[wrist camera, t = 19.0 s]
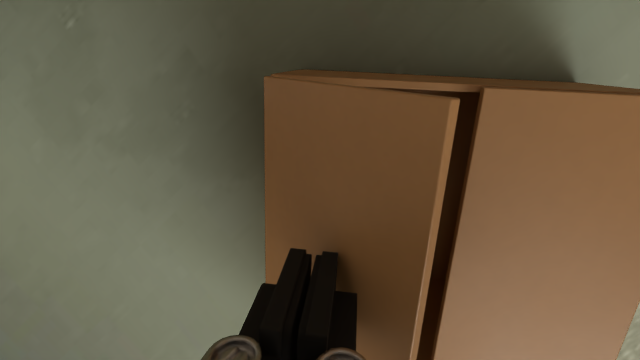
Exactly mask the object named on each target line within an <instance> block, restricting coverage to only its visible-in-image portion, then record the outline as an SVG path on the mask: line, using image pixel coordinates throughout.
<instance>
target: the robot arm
mask: <svg viewBox="0 0 640 360" xmlns="http://www.w3.org/2000/svg"><path fill="white" fill-rule="evenodd" d="M337 264H338V253H337V252H327V251H323V252H322V255H316V258H315V262H314V266H313V270H312V274H311V265H312V254H306V249H297V248H290V250H289V253H288V255H287V258H286V260H285V263H284V266H283V268H282V271H281V273H280V276H279V279H278V281H277V284H268V283H263V284H262V285H261V287H260V289H259V291H258V293H257V296H256V298H255V300H254V302H253V304H252V307H251V309H250V311H249V313H248V315H247V318H246V320H245V322H244V324H243V326H242V329H241V331H240V333H239V335H233V336H228V337H225V338H222V339H220V340H219V341H217V342H215V343H214V344H213V345H212V346H211V347H210V348H209V349H208V351H207V352H206V353H205V355H204V356H203V357H202V359H201V360H366V359H365V358H364V356H362V355H361V354H359V353H358V352H357V351H356V334H357V293H351V292H342V291H336V278H337Z"/></svg>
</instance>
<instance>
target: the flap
mask: <svg viewBox="0 0 640 360" xmlns="http://www.w3.org/2000/svg"><path fill="white" fill-rule="evenodd" d="M459 103H460V99H459V98H454V97H446V96H437V95H429V94H420V93H412V92H403V91H394V90H386V89H377V88H369V87H360V86H352V85H343V84H334V83H326V82H317V81H309V80H300V79H291V78H283V77H274V76H265V77H264V135H265V261H266V283H268V284H277V281H278V279H279V276H280V273H281V271H282V268H283V266H284V263H285V260H286V258H287V255H288V253H289V250H290V248H297V249H306V254H312V265H311V274H312V270H313V266H314V262H315V258H316V255H322V252H323V251H327V252H337V253H338V264H337V278H336V291H342V292H351V293H357V334H356V351H357V352H358V353H359V354H361V355H362V356H364V358H365V359H366V360H416V359H417V353H418V347H419V341H420V335H421V329H422V323H423V317H424V311H425V305H426V299H427V294H428V288H429V282H430V276H431V270H432V264H433V258H434V252H435V246H436V240H437V234H438V228H439V222H440V216H441V210H442V204H443V198H444V192H445V186H446V181H447V175H448V169H449V163H450V157H451V151H452V145H453V139H454V133H455V127H456V121H457V115H458V109H459Z"/></svg>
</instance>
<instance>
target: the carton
mask: <svg viewBox="0 0 640 360" xmlns="http://www.w3.org/2000/svg"><path fill="white" fill-rule="evenodd" d="M271 76H274V77H283V78H291V79H300V80H309V81H317V82H326V83H334V84H343V85H352V86H360V87H369V88H377V89H386V90H394V91H403V92H412V93H420V94H429V95H437V96H446V97H454V98H459V99H460V103H459V109H458V115H457V121H456V127H455V133H454V139H453V145H452V151H451V157H450V163H449V169H448V175H447V181H446V186H445V192H444V198H443V204H442V210H441V216H440V222H439V228H438V234H437V240H436V246H435V252H434V258H433V264H432V270H431V276H430V282H429V288H428V294H427V299H426V305H425V311H424V317H423V323H422V329H421V335H420V341H419V347H418V353H417V359H416V360H616V359H617V356H618V354H619V351H620V349H621V346H622V344H623V341H624V339H625V336H626V334H627V331H628V329H629V326H630V324H631V321H632V319H633V316H634V314H635V312H636V309H637V307H638V304H639V302H640V89H633V88H623V87H614V86H604V85H595V84H585V83H574V82H554V81H533V80H512V79H492V78H471V77H450V76H430V75H409V74H389V73H368V72H347V71H327V70H306V69H301V70H295V71H288V72H282V73H276V74H271Z"/></svg>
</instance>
